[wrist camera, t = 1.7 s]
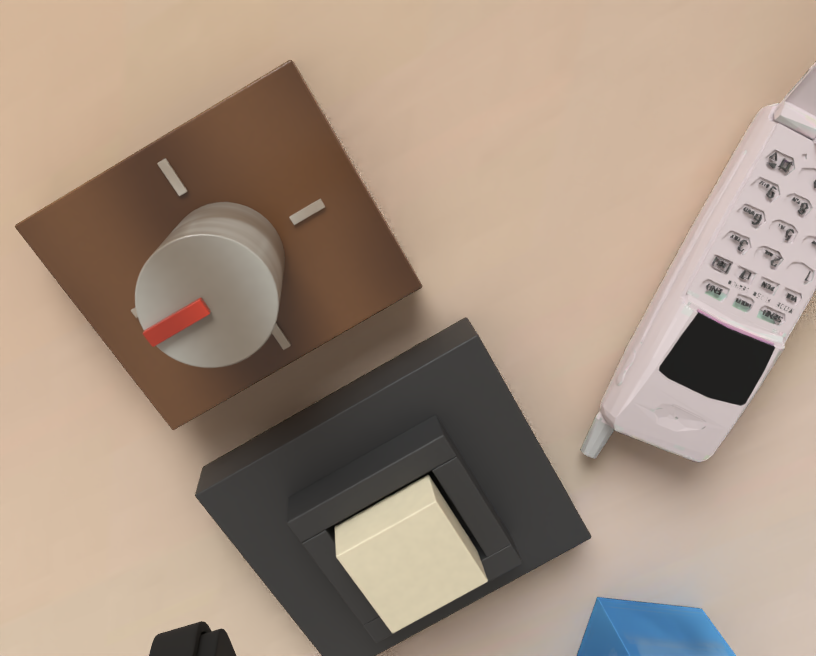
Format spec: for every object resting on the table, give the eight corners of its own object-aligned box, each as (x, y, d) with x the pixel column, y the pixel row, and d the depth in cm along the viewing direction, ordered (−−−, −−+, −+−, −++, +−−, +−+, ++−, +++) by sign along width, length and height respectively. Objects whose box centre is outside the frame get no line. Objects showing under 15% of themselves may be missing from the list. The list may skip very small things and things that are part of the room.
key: (428, 473, 31) (436, 500, 29) (477, 550, 33) (488, 581, 31) (333, 526, 32) (335, 557, 30) (387, 600, 33) (392, 634, 31)
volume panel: (292, 60, 29) (291, 58, 27) (415, 272, 33) (423, 288, 30) (36, 214, 30) (11, 226, 27) (182, 406, 33) (172, 433, 31)
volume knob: (244, 180, 28) (226, 208, 22) (306, 277, 30) (305, 328, 24) (145, 239, 28) (101, 282, 22) (211, 332, 30) (187, 396, 24)
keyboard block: (466, 316, 34) (488, 351, 29) (574, 509, 38) (608, 564, 33) (201, 467, 34) (186, 522, 30) (336, 639, 38) (339, 709, 34)
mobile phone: (1092, -34, 26) (726, 546, 32) (955, -13, 32) (666, 478, 38) (964, -119, 25) (607, 503, 31) (845, -82, 30) (563, 439, 36)
